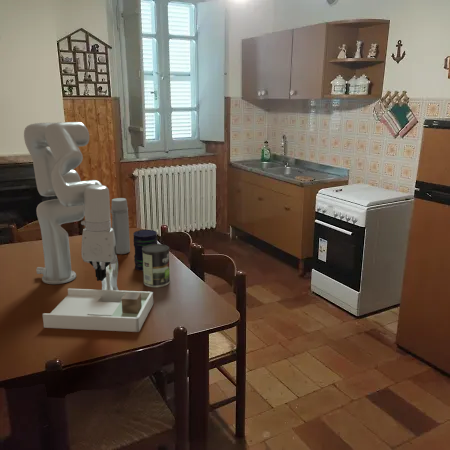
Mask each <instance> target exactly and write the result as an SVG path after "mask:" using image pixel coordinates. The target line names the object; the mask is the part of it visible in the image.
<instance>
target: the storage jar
mask: <svg viewBox="0 0 450 450" xmlns="http://www.w3.org/2000/svg"><path fill="white" fill-rule="evenodd" d="M132 236H133V239H132V240H133V247H134V255H133V258H134V259H133V260H134V261H133V262H134V269H136V270H137V271H141V272H143V253H142V248H143V247H144V246H147V245H151V244H159V243H158V232H157V230H154V229H140V230H136V231H134V232H133V235H132Z"/></svg>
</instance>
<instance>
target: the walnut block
mask: <svg viewBox="0 0 450 450" xmlns="http://www.w3.org/2000/svg"><path fill="white" fill-rule="evenodd" d="M141 307H142V303H141V293H131V292H126V293H125V295H124V296H123V297H122V313H130V314H138V312H139V311H140V309H141Z"/></svg>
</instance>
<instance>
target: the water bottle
mask: <svg viewBox="0 0 450 450" xmlns="http://www.w3.org/2000/svg"><path fill="white" fill-rule="evenodd" d="M128 210H129V207H128V201H127V198H126V197H125V198H124V197H117V198H113V199H111V206H110V214H111V219H112V220H111V228H113V231H114V235H115V240H116V248H117V255H125V254H126V255H127V254H128V253H130V251H131V245H130V244H131V243H130V225H129V223H130V222H129V211H128Z"/></svg>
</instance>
